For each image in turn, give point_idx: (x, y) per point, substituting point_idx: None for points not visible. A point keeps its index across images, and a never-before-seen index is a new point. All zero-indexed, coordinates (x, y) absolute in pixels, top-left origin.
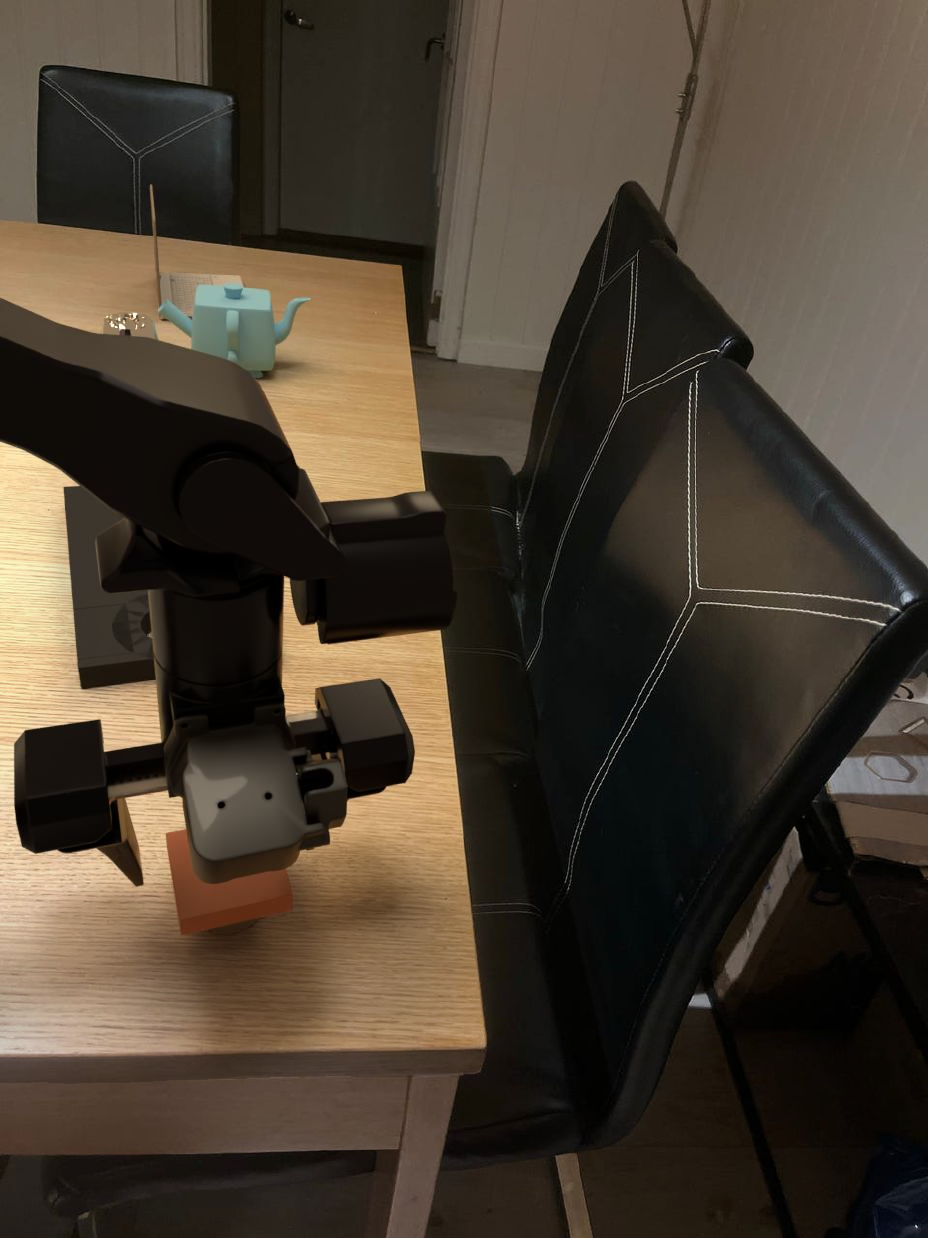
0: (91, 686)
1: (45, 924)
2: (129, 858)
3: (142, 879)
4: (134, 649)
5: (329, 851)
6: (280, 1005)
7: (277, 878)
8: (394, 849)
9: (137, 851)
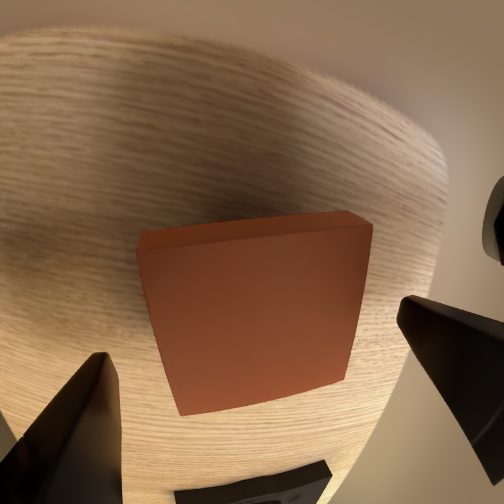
0: (318, 462)
1: (415, 271)
2: (489, 330)
3: (419, 304)
4: (290, 493)
5: (92, 339)
6: (183, 91)
7: (169, 298)
8: (16, 327)
9: (444, 348)
